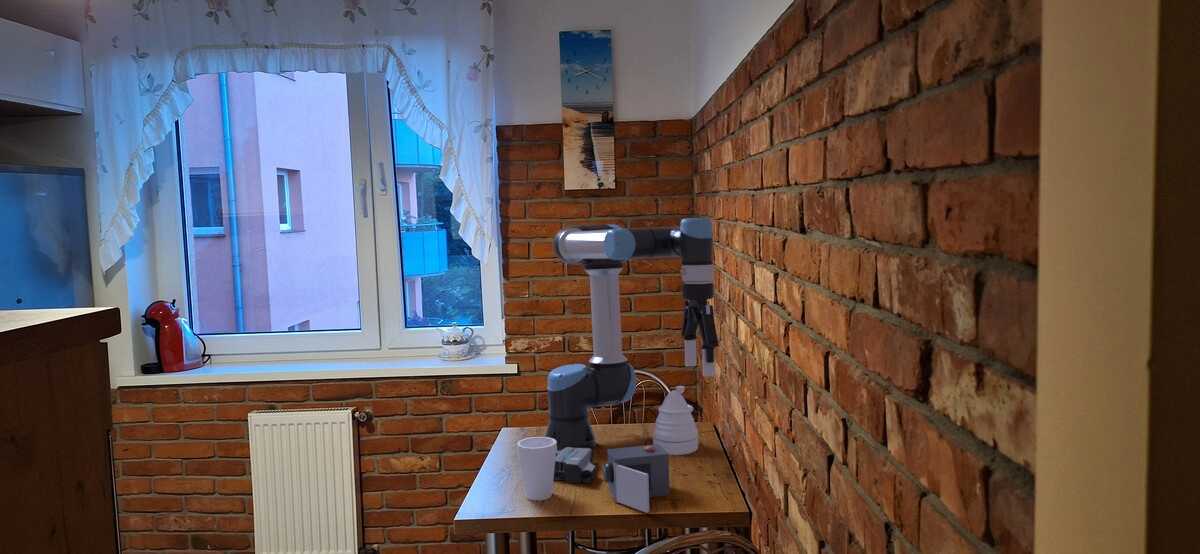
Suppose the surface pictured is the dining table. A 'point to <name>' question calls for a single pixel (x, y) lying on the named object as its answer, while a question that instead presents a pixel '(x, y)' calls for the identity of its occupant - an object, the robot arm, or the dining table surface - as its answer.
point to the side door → (631, 487)
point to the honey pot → (675, 425)
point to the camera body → (641, 466)
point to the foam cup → (537, 466)
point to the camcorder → (574, 465)
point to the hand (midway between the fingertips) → (699, 370)
